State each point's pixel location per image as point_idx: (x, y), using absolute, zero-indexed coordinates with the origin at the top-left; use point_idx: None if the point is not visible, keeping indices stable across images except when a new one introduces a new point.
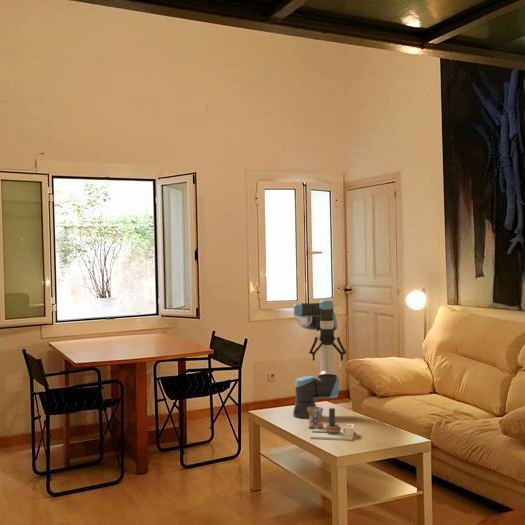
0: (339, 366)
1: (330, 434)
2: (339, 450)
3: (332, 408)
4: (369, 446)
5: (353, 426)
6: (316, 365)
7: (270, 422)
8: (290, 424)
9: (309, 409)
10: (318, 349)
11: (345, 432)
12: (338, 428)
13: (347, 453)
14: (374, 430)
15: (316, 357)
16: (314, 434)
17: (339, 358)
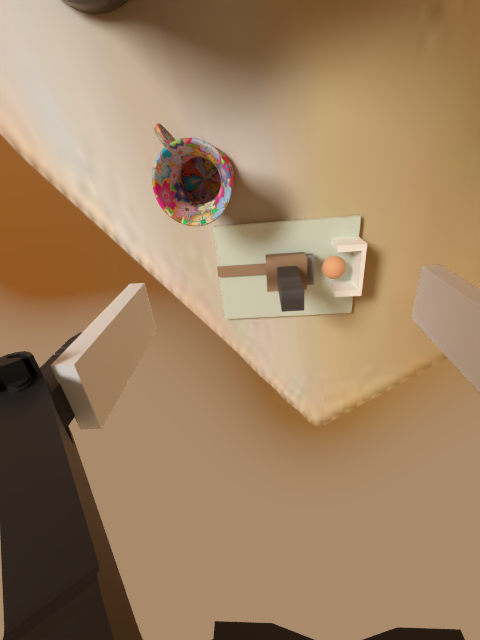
0: (415, 322)
1: None
2: (317, 390)
3: (294, 296)
4: (395, 353)
5: (363, 270)
6: (146, 309)
7: (7, 140)
8: (97, 155)
9: (162, 171)
10: (102, 525)
11: (331, 291)
12: (308, 279)
13: (337, 405)
14: (438, 175)
15: (102, 344)
16: (231, 295)
17: (474, 382)
